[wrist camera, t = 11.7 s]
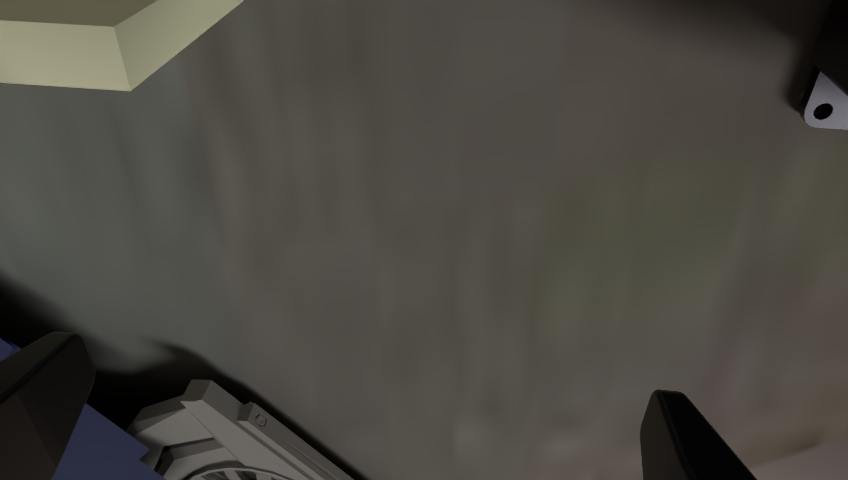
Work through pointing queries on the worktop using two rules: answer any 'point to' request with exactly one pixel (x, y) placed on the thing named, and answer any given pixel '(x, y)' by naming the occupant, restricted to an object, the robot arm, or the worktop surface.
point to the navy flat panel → (97, 446)
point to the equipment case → (98, 39)
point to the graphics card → (223, 440)
